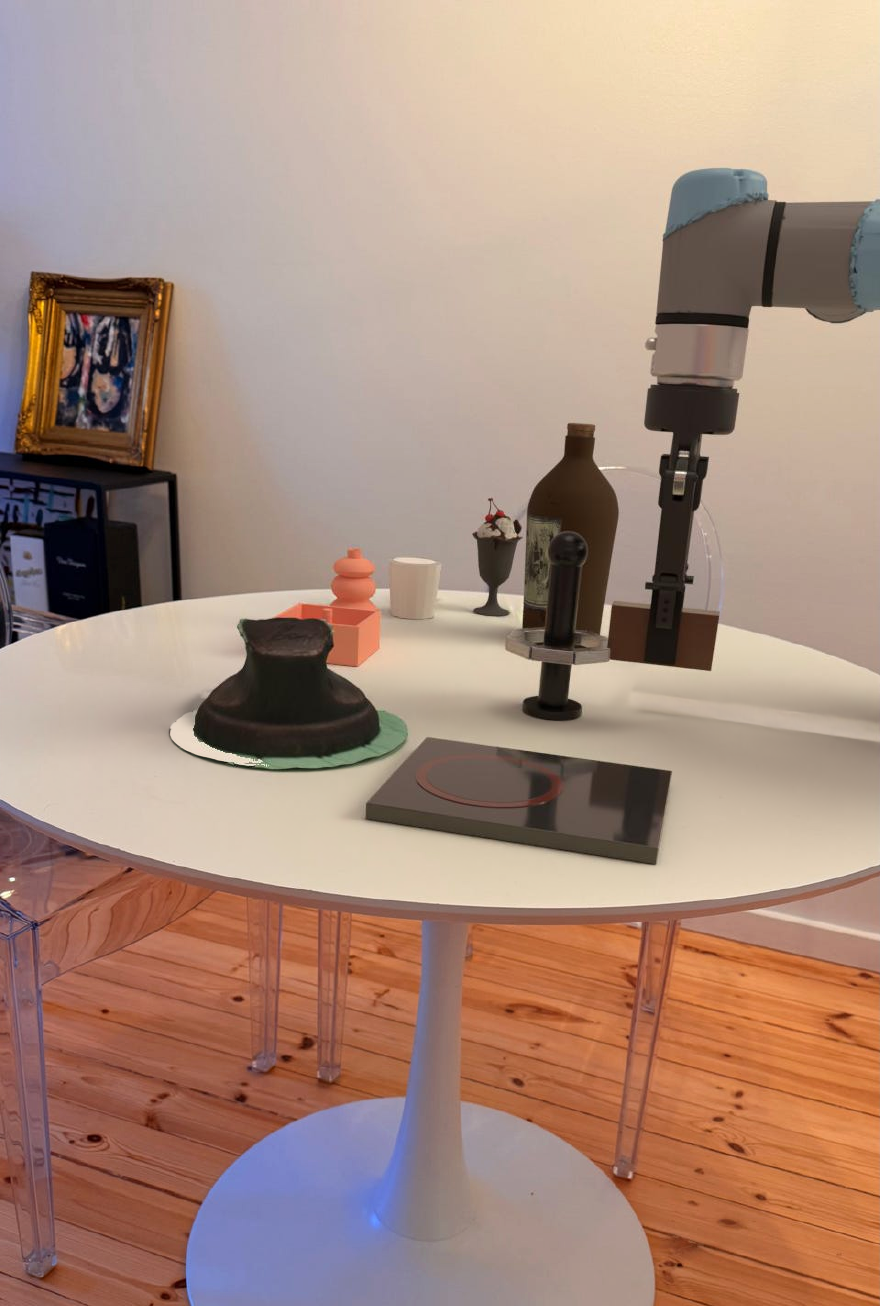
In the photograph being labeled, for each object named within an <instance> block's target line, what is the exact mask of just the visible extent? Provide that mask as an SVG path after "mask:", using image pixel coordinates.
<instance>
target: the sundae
mask: <svg viewBox="0 0 880 1306" xmlns="http://www.w3.org/2000/svg"><path fill="white" fill-rule="evenodd" d="M487 501H488V502H489V505H490V506H489V510H488V513H487V514H486V515H485V517H484V520H485V522H483V523H481V525H480V526H479V527H478V529H477V531H474V532H472V534H471V535H472V537H473V539H475V540H476V545H477V563H478V564H477V565H478V572H479V576H480V578H481V580H482V581H483V582H484V583H485V584H486V585H487V586H488V596H487V600H486V602H485V603H484V604H483V606H479V607H475V608H473V610H472V611H473V613H475V614H478V615H481V616H487V617H489V616H490V617H504V616H509V615H510V614H511V611H510V610H508V609H506V608H504V607H501V605H500V604H499V601H498V589H499V587H500V586H502V585H503V584H505V582H506V581H507V580H508V579H509V578H510V576H511V572H512V568H513V563H514V558H515V554H516V550H517V546H518V543H519V541H521V540H522V539H523V538H524V537H523V536H520V535H519V534H520V533H521V532H522V529H523V527H522V525H521V523H520V522H519V520H518V519H517V518H516V519H514V521H512V518H511V517H510V516H507V515H506V514H505V512H504V510H501V509H499V508H498V507H497V505H496V504H495V502H494V498H493V497H489V498H487ZM492 504H493V506H494V508H496V510H497V511H495V513H494V514H491V510H492Z"/></svg>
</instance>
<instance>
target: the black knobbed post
mask: <svg viewBox="0 0 880 1306" xmlns="http://www.w3.org/2000/svg"><path fill="white" fill-rule="evenodd" d="M587 556H588V547H587V544H586V542H585V540H584V538H583V537H582V536H580V535H579V534H578V533H575V532H572V531H565V532H561V533H559V534H557V535H556V536H555V537H554V538H553V539H552V540H551V542H550V544H549V546H548V558H549V561H550V563H551V568H550V579H549V589H548V600H547V610H546V621H545V631H544V642H543V645H542V646H550V647H559V648H568V649H574V648H573V647H574V637H575V628H576V618H577V609H578V599H579V590H580V581H581V571H582V565H583V564H584V563H585V561H586V559H587ZM540 662H541V661H540ZM572 665H573V664H572ZM572 665H567V664H558V663H550V662H541V663H540V674H539V684H538V695H533V696H529V697H526V698H525V699H523V701H522V705H521V706H522V707H521V709H522V711H523V712H524V713H525V714H526V715H528V716H530V717H533V718H536V719H537V718H538V719H542V720H547V721H548V720H549V721H571V720H575V719H579V718H580V717H581V716H582V713H583V705H582V704H581V703H580V702H579V701H576V700H574V699H571V698H569V693H570V685H571V684H570V683H571V674H572V667H573V666H572Z"/></svg>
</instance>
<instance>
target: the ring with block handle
mask: <svg viewBox="0 0 880 1306" xmlns="http://www.w3.org/2000/svg"><path fill="white" fill-rule="evenodd" d="M650 606H651V603H640V602H632V601H622V600H614V601H613V603H612V604H611V607H610V617H609V627H608V636H605V635H601V634H600V635H599V634H596V633H593V632H590V631H584V630H575V637H574V644H577V645H582V646H585V647H587V648H573V649H568V648H559V647H550V646H543V645H538V644H535V643H537V642H544V631H545V627H537V628H523V629H522V628H515V629H513V630H512V631H511V632H510V633H508V634H507V636H506V637H505V646H504V650H505V651H506V652H509V653H511V654H513V655H516V656H518V657H520V658H523V659H525V660H527V661H530V660H531V661H535V662H550V663H558V664H567V665H574V666H579V665H592V664H601V663H608V662H610V661H617V662H618V661H619V662H627V663H634V664H635V663H636V664H643V665H652V666H662V667H670V668H679V669H689V670H696V671H706V672H712V670H713V669H712V668H713V661H714V655H715V649H716V640H717V634H718V629H719V628H718V627H719V620H720V614H721V613H720V611H719V610H709V609H701V608H700V609H699V608H692V607H691V608H690V607H683V608H682V612H681V620H680V628H679V636H678V643H677V651H676V659H675V665H667V664H657V663H648V662H644V657H645V649H646V640H647V631H648V623H649V614H650Z"/></svg>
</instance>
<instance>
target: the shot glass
mask: <svg viewBox="0 0 880 1306" xmlns="http://www.w3.org/2000/svg"><path fill="white" fill-rule="evenodd" d="M442 564H443V562H442V561H440V560H438V559H434V558H429V557H424V556H423V557H422V556H395V557H391V558H389V559H388V581H389V601H390V614H391V615H392V616H393V617H396V616H397V617H396V618H400V619H407V620H427V619H428V620H429V619H432V618H434V616H435V611H436V604H437V597H438V592H439V591H438V590H439V585H440V577H441V571H442V566H443V565H442Z"/></svg>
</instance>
